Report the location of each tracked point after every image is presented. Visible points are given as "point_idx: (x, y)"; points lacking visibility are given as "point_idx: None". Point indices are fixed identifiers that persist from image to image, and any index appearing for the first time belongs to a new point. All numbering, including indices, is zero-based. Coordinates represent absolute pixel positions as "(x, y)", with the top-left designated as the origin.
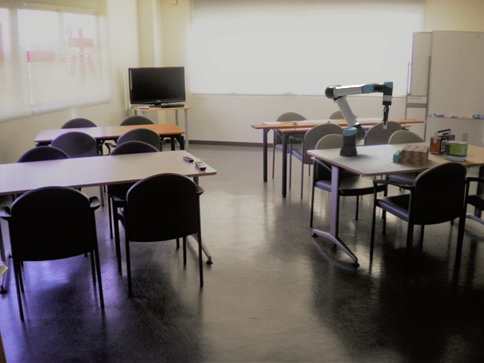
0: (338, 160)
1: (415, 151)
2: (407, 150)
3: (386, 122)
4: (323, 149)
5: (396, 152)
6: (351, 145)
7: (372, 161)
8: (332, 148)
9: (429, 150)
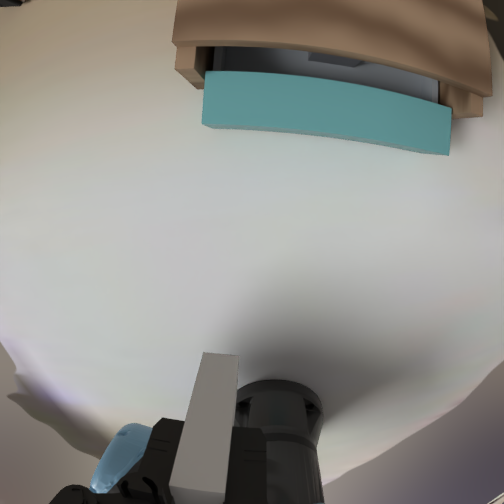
0: (422, 411)
1: (481, 5)
2: (488, 54)
3: (229, 469)
4: None
5: (356, 127)
6: (314, 447)
7: (427, 276)
8: None
9: (15, 2)
